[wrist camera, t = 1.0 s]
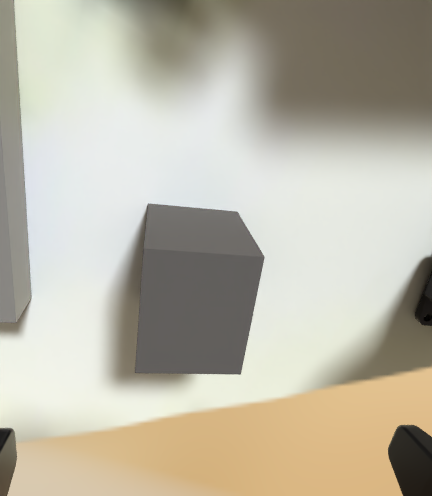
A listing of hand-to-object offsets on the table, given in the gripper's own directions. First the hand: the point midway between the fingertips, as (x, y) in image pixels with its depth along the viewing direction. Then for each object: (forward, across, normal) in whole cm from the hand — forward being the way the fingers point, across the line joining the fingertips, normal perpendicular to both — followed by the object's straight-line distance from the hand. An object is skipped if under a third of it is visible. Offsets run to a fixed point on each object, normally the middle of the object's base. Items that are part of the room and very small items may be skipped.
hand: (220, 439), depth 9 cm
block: (+10, 0, 0) cm, 10 cm away
